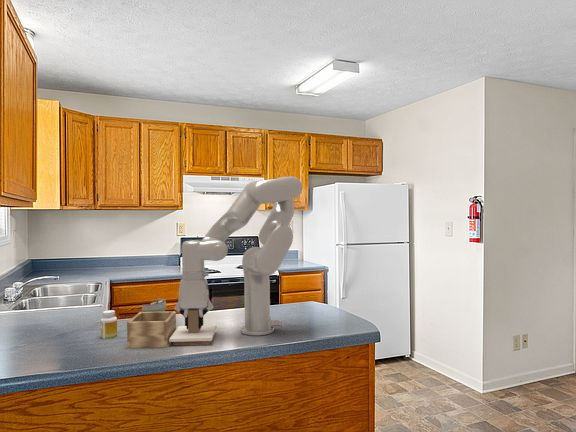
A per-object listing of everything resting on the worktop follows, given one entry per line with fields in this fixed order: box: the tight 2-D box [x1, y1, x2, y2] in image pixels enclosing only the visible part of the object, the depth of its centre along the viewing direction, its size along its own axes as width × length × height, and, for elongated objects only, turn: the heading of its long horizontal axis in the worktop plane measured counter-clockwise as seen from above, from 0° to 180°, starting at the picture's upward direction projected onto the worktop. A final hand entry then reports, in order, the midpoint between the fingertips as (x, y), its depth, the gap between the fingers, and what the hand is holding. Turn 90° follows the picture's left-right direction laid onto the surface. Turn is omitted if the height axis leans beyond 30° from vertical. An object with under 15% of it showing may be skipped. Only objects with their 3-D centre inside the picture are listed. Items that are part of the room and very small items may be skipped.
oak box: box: [126, 310, 177, 349], centre depth 150 cm, size 13×14×9 cm
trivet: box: [172, 341, 211, 346], centre depth 152 cm, size 12×12×1 cm
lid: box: [169, 309, 218, 343], centre depth 152 cm, size 14×15×9 cm
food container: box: [141, 298, 168, 312], centre depth 169 cm, size 12×6×10 cm, turn 168°
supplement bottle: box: [100, 309, 118, 340], centre depth 155 cm, size 5×5×10 cm
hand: (194, 327), depth 152 cm, fingers closed on lid, 3 cm apart
